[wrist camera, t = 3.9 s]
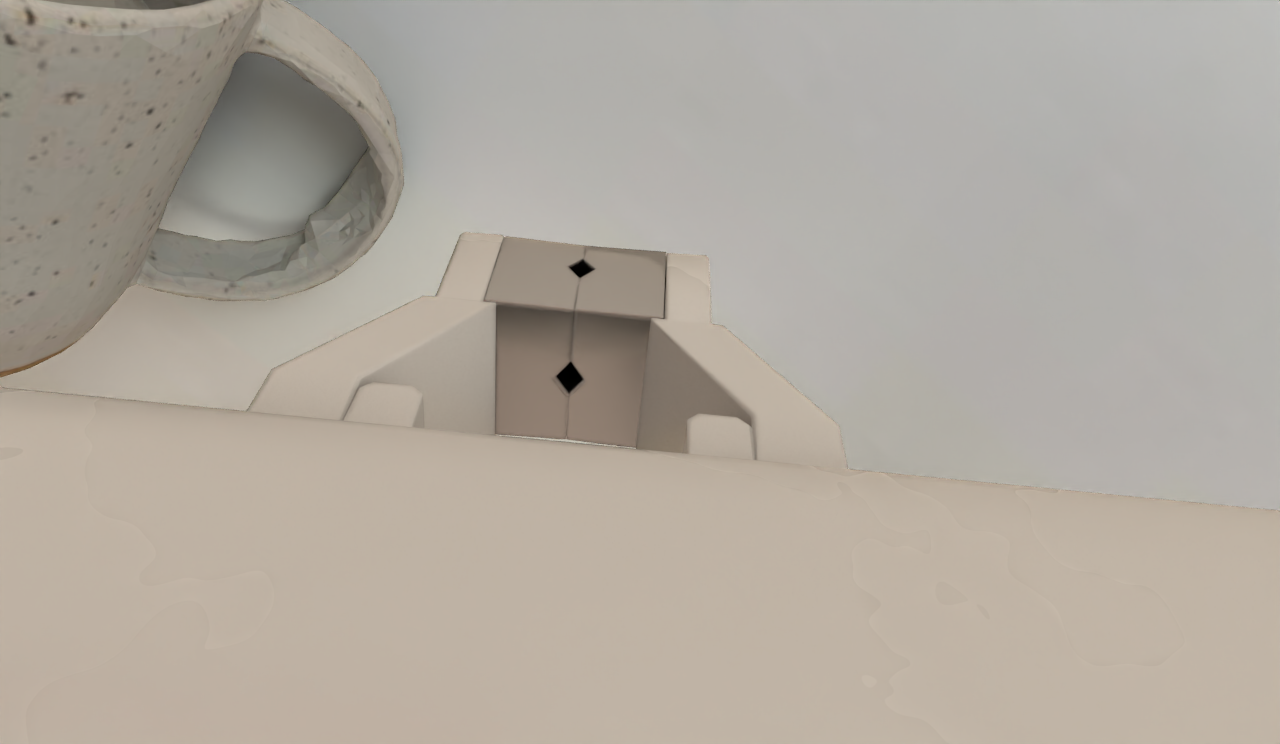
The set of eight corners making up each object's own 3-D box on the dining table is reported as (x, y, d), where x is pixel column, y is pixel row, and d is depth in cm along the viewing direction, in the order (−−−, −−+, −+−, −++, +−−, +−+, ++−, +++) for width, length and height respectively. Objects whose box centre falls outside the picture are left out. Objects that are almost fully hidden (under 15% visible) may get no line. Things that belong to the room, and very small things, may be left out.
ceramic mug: (-187, 73, 19) (-615, 285, 13) (-140, -383, 14) (-758, -397, 8) (330, 328, 22) (187, 598, 16) (497, 15, 18) (389, 219, 11)
